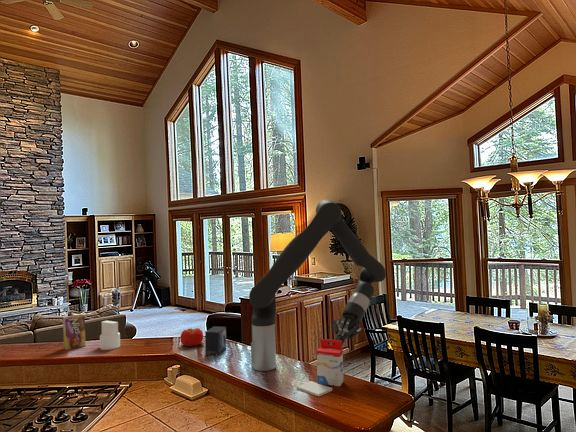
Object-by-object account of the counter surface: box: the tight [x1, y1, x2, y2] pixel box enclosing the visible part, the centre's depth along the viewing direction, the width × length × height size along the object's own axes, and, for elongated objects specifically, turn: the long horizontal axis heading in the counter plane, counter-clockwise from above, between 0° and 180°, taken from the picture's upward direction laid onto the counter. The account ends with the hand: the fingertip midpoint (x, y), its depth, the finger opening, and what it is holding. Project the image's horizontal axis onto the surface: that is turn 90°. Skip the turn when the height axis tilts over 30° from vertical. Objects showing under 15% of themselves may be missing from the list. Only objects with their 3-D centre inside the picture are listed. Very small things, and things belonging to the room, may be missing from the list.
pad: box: [296, 380, 333, 397], centre depth 144 cm, size 10×7×1 cm
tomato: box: [179, 327, 204, 348], centre depth 204 cm, size 11×11×8 cm
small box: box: [204, 325, 227, 357], centre depth 191 cm, size 11×6×10 cm, turn 168°
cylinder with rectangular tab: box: [99, 320, 121, 351], centre depth 204 cm, size 9×9×12 cm
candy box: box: [62, 313, 86, 351], centre depth 205 cm, size 9×4×15 cm, turn 133°
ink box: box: [316, 338, 344, 387], centre depth 150 cm, size 8×5×15 cm, turn 68°
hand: (336, 346), depth 153 cm, fingers closed
